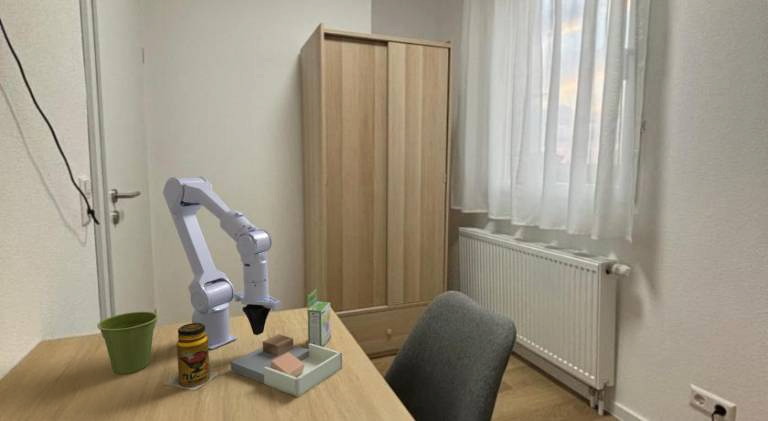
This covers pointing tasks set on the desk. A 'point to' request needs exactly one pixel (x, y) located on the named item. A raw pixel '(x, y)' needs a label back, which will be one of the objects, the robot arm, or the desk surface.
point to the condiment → (192, 358)
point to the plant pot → (129, 340)
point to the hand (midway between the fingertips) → (258, 333)
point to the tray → (306, 371)
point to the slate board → (262, 362)
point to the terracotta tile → (288, 365)
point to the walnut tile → (278, 345)
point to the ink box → (318, 321)
